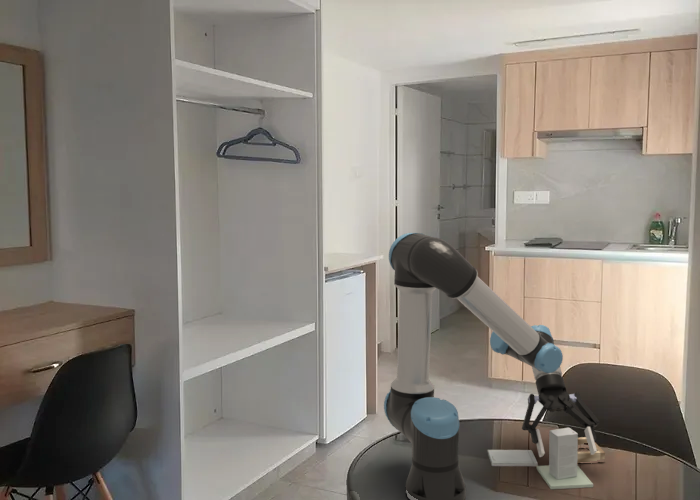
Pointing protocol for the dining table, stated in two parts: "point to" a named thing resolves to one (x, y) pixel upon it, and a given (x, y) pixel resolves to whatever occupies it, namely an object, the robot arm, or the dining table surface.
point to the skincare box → (563, 453)
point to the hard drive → (512, 458)
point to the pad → (565, 479)
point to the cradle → (586, 455)
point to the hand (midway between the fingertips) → (568, 454)
